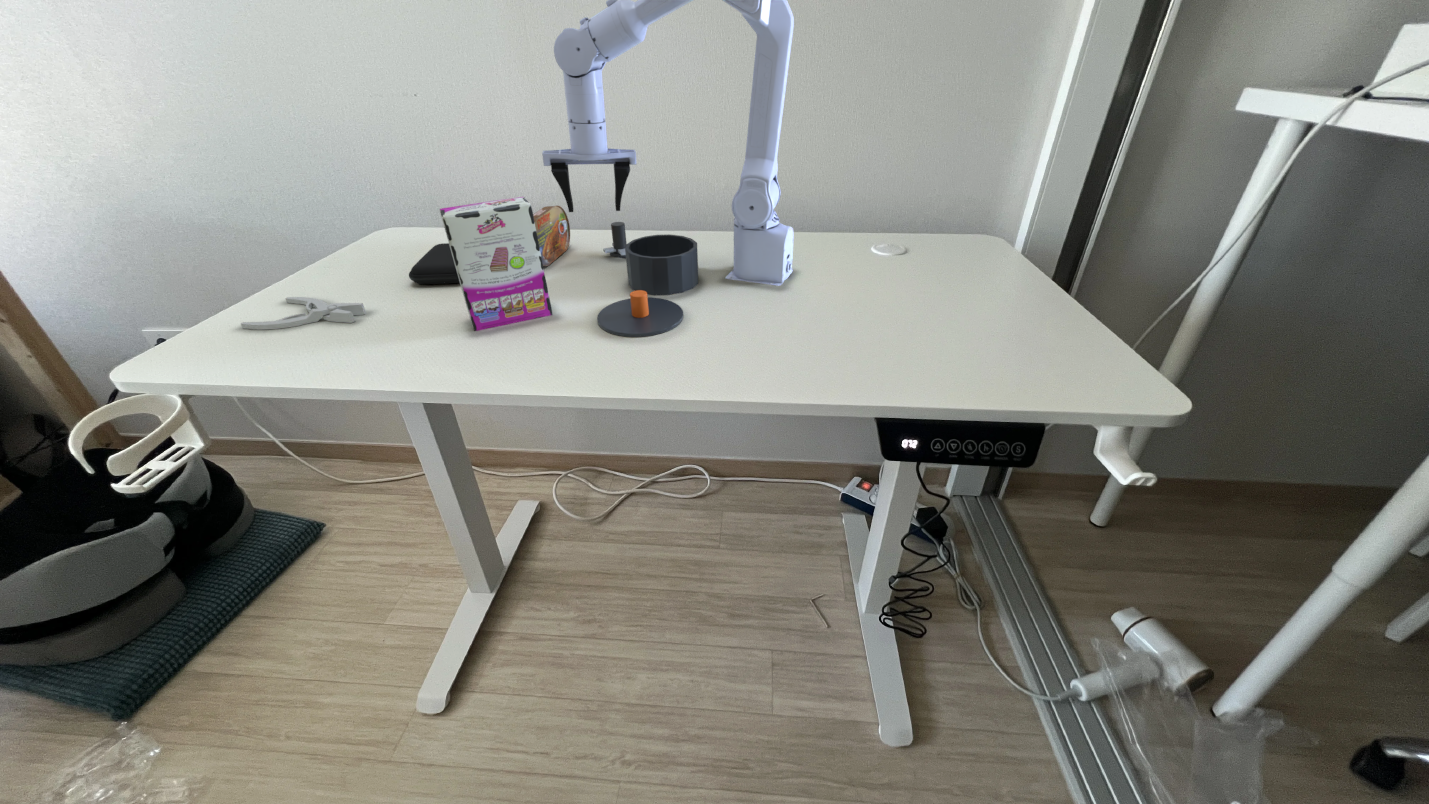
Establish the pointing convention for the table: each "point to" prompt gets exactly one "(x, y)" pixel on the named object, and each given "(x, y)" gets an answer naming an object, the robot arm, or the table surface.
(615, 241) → the blade
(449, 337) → the table surface
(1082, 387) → the table surface
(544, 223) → the tin
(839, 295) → the table surface
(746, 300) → the table surface
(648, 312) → the lid
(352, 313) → the pliers
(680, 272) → the dark grey pot
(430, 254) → the carrying case
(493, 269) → the candy bar box
